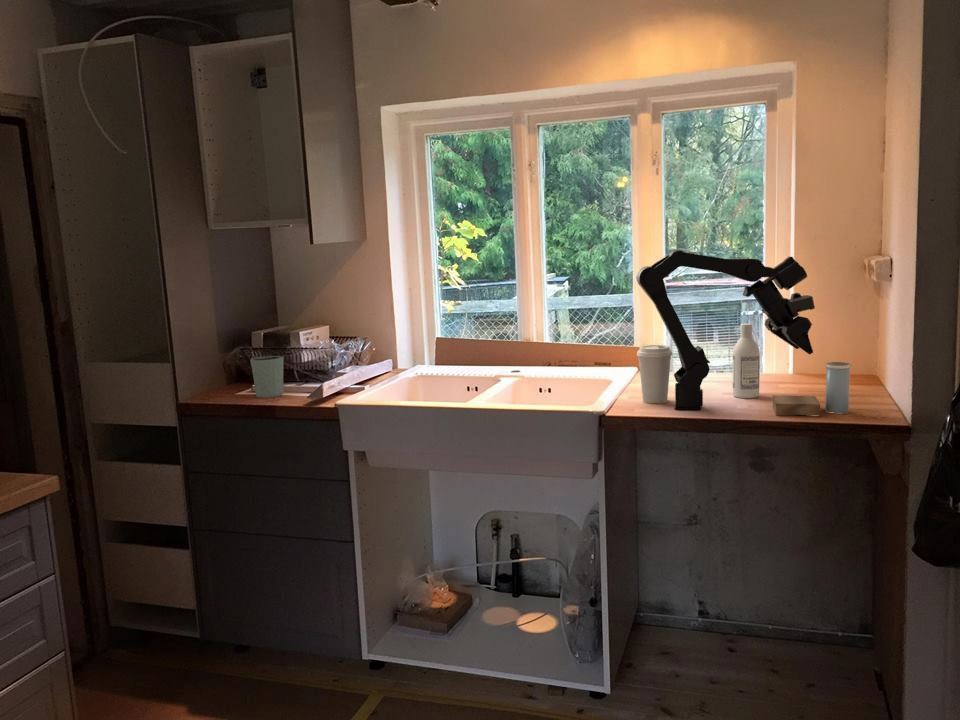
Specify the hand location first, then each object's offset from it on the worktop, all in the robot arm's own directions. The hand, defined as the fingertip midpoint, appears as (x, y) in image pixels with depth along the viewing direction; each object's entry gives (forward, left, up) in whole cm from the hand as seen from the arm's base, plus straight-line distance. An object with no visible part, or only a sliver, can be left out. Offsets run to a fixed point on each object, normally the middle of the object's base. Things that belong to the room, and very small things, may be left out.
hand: (804, 350), depth 197 cm
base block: (-3, -8, -14) cm, 17 cm away
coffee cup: (-38, +1, -14) cm, 40 cm away
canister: (+7, -8, -14) cm, 17 cm away
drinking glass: (-158, +2, -14) cm, 158 cm away
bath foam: (-14, +10, -14) cm, 22 cm away
